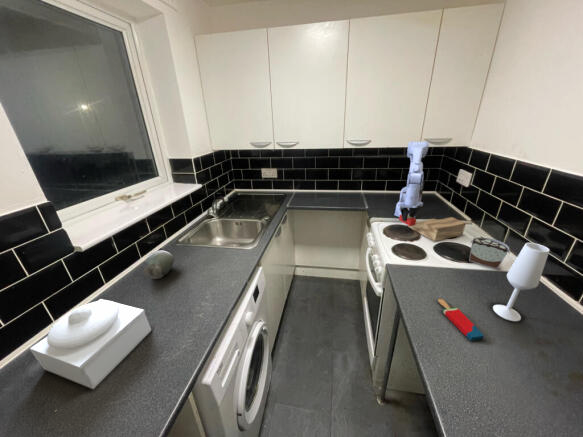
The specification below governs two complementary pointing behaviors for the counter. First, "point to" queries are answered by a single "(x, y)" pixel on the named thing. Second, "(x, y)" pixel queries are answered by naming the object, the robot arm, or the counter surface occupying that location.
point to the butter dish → (91, 341)
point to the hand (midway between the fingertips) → (407, 220)
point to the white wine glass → (524, 276)
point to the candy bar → (408, 220)
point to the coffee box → (421, 191)
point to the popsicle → (461, 322)
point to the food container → (488, 252)
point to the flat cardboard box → (440, 228)
